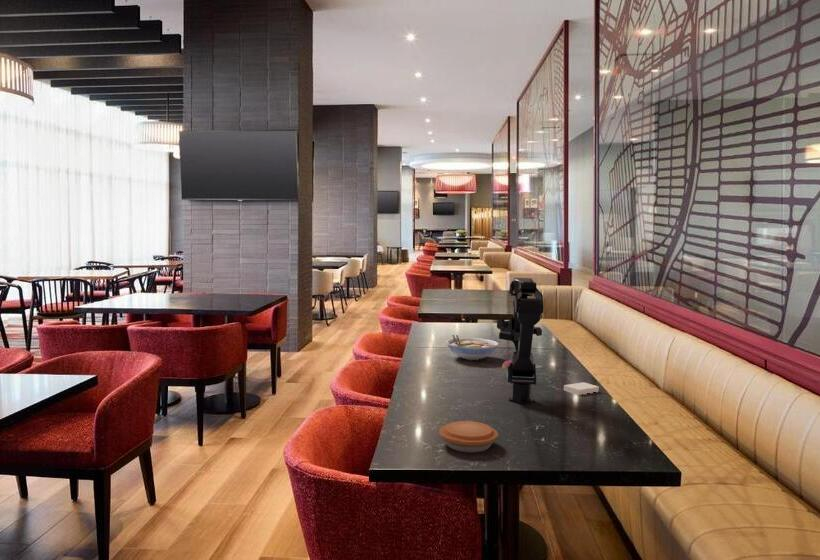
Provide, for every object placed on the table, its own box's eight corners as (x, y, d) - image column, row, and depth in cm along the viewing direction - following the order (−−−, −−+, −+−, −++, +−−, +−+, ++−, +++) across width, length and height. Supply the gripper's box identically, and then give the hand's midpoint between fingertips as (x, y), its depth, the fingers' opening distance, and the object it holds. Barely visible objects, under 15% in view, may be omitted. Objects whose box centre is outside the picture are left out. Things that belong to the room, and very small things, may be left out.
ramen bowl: (501, 366, 256) (502, 346, 255) (446, 364, 256) (447, 345, 255) (494, 353, 280) (495, 336, 280) (444, 352, 281) (445, 334, 280)
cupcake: (525, 376, 238) (526, 346, 237) (523, 381, 230) (524, 350, 229) (503, 374, 241) (504, 344, 240) (500, 379, 232) (501, 348, 231)
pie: (492, 435, 170) (493, 418, 169) (502, 456, 154) (503, 437, 154) (436, 434, 169) (437, 417, 169) (441, 455, 154) (441, 436, 153)
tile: (578, 389, 213) (598, 386, 218) (563, 385, 219) (584, 382, 224) (578, 396, 213) (598, 393, 218) (563, 391, 219) (583, 388, 224)
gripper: (517, 308, 227) (515, 350, 228) (487, 313, 213) (485, 357, 215) (543, 312, 219) (541, 355, 221) (513, 316, 206) (511, 362, 207)
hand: (519, 357), depth 216 cm, fingers closed
